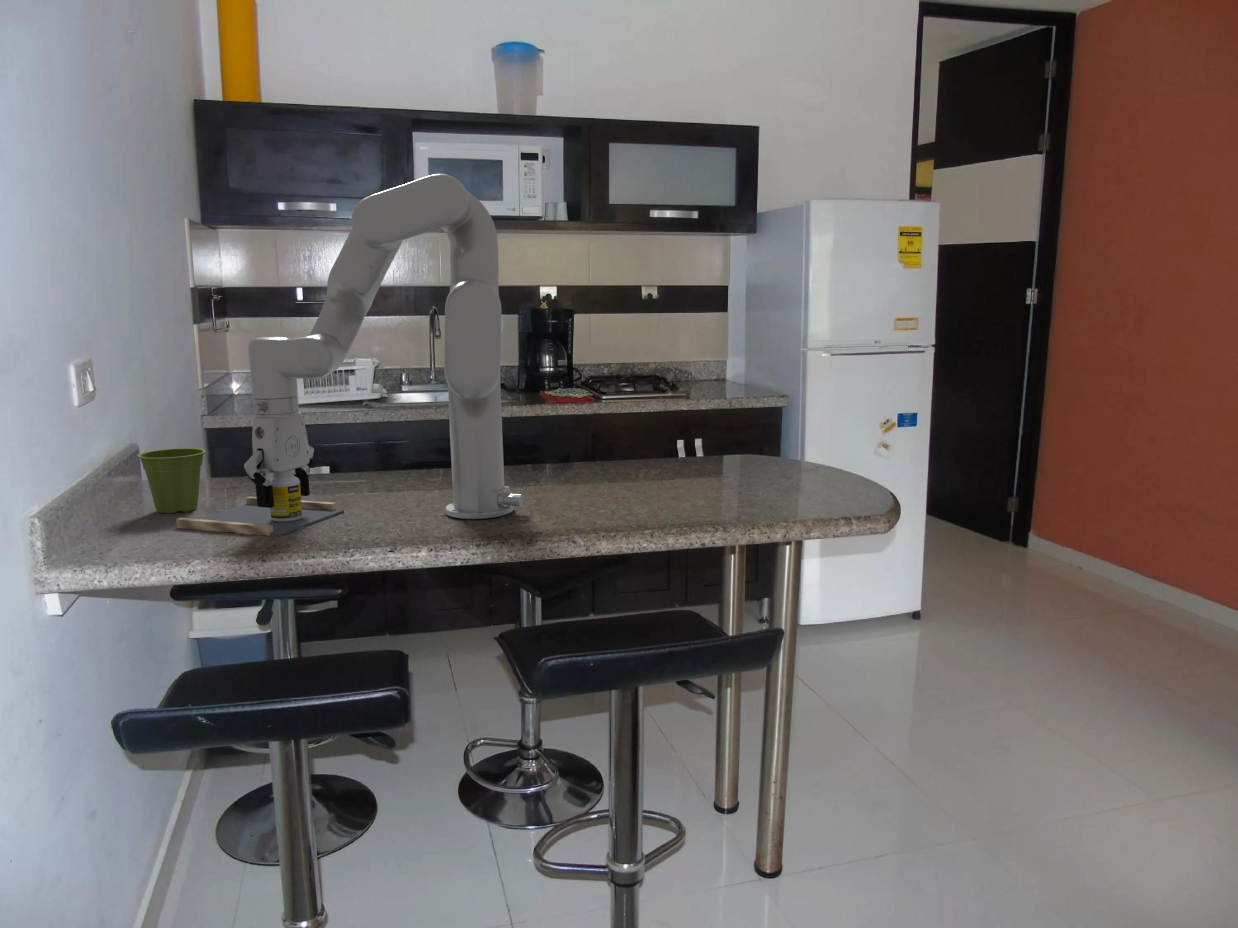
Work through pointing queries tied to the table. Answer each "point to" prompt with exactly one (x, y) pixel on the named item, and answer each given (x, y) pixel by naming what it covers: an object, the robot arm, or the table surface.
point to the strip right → (303, 504)
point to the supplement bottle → (286, 497)
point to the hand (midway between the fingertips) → (284, 500)
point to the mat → (263, 516)
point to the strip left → (224, 526)
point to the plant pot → (173, 477)
